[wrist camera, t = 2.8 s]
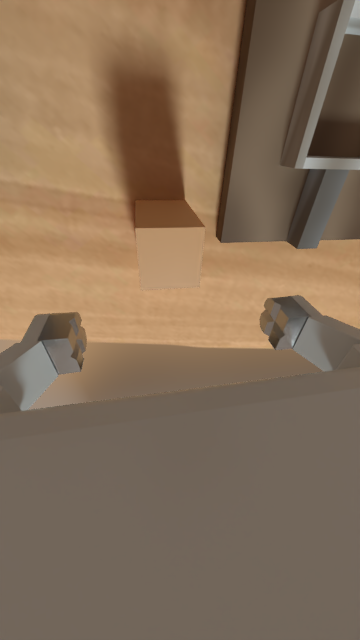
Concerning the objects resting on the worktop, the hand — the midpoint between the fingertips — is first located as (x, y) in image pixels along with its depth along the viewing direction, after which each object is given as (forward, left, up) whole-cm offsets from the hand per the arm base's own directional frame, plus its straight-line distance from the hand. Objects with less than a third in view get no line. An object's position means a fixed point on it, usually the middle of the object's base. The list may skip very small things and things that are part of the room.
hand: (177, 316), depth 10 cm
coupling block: (0, 0, -12) cm, 12 cm away
